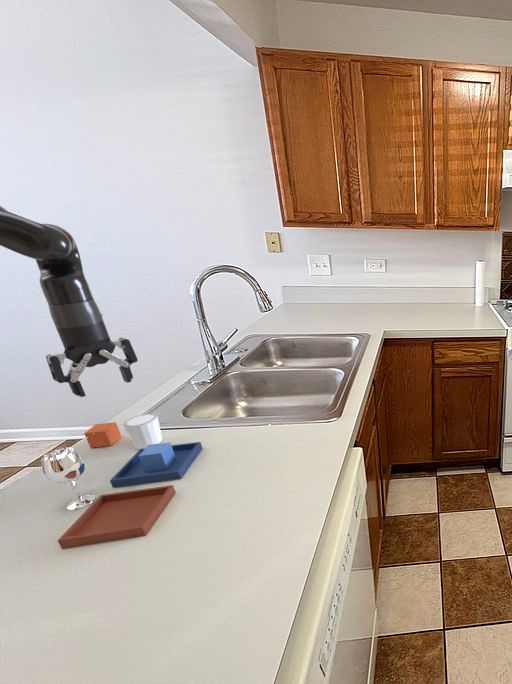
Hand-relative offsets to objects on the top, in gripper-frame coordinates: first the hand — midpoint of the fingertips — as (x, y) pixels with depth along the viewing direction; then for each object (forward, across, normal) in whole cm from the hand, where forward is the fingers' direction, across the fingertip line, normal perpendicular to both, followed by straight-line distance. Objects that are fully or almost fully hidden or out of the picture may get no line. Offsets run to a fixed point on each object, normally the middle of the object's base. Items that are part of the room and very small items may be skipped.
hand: (105, 388), depth 92 cm
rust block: (+18, +1, -12) cm, 21 cm away
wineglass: (+18, +13, +11) cm, 25 cm away
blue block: (+17, -1, +12) cm, 21 cm away
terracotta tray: (+18, +11, +25) cm, 32 cm away
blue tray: (+18, -1, +12) cm, 22 cm away
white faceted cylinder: (+18, -4, -1) cm, 19 cm away
